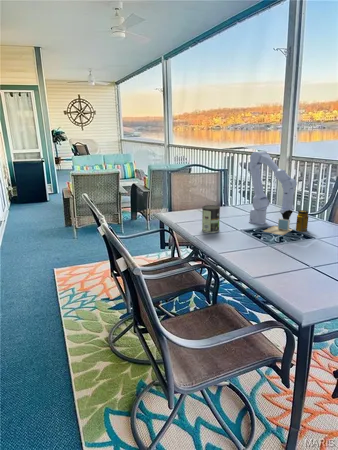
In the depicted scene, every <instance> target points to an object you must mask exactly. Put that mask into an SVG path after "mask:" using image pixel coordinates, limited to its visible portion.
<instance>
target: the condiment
mask: <svg viewBox="0 0 338 450" xmlns="http://www.w3.org/2000/svg"><path fill="white" fill-rule="evenodd" d="M308 224H309V211H308V210H305V209H301V210H298V212H297V215H296V224H295V230H296V231H297V232H300V233H301V232H304V233H305V232H308V226H309V225H308Z"/></svg>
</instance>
